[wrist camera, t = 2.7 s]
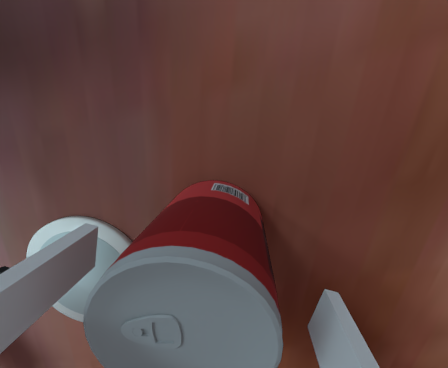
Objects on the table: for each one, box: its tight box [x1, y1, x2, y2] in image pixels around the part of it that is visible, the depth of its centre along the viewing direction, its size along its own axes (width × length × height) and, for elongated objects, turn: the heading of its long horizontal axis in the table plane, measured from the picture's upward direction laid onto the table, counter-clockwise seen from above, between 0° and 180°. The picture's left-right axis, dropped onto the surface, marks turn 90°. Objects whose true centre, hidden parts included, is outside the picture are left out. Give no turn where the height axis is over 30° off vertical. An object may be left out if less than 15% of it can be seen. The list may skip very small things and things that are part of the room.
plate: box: [26, 216, 132, 322], centre depth 21 cm, size 12×12×1 cm
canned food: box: [83, 180, 283, 368], centre depth 13 cm, size 8×8×11 cm
